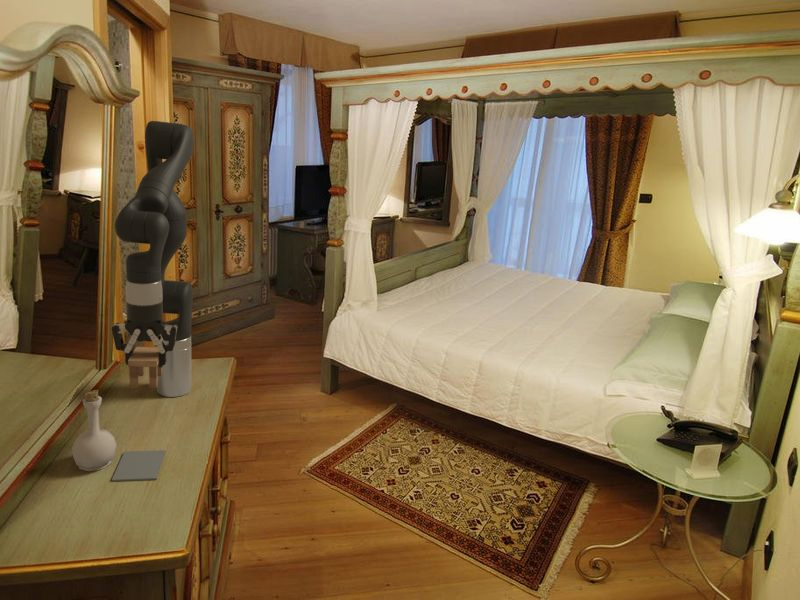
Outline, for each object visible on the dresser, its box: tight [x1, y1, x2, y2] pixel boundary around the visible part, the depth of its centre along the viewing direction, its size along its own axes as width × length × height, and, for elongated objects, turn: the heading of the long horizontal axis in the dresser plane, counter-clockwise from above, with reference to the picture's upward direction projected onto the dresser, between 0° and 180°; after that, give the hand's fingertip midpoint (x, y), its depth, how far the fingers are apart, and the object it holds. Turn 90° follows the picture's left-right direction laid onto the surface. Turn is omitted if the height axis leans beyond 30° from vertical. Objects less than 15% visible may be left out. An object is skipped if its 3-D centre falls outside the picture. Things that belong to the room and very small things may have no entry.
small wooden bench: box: [127, 346, 163, 389], centre depth 127 cm, size 8×6×7 cm
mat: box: [111, 449, 167, 482], centre depth 123 cm, size 11×9×1 cm
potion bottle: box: [71, 389, 118, 473], centre depth 120 cm, size 9×9×18 cm
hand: (146, 365), depth 127 cm, fingers closed on small wooden bench, 6 cm apart
